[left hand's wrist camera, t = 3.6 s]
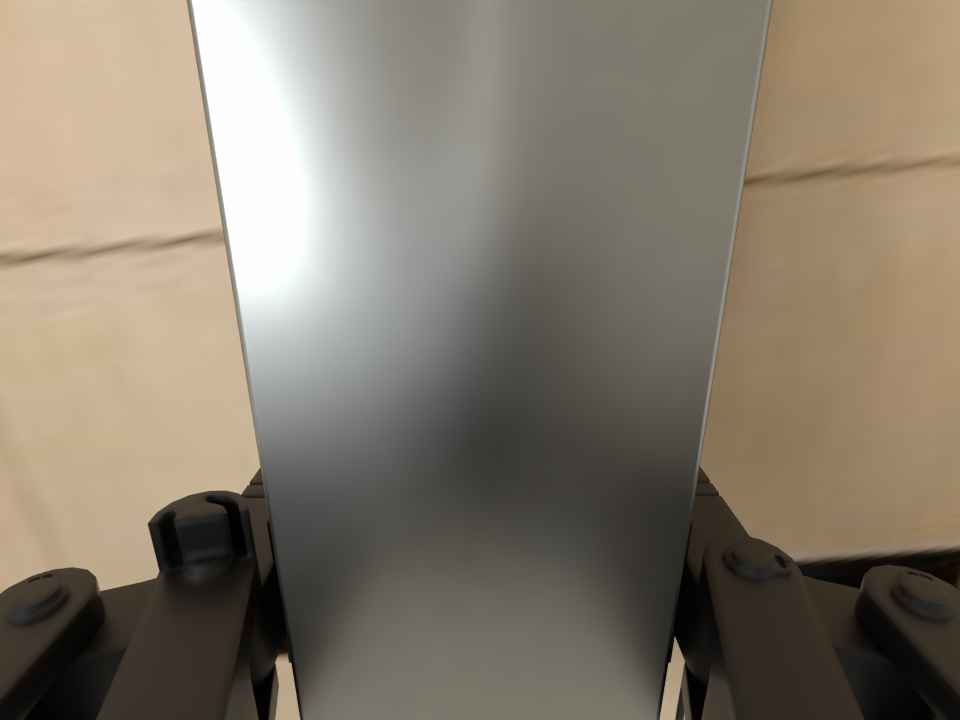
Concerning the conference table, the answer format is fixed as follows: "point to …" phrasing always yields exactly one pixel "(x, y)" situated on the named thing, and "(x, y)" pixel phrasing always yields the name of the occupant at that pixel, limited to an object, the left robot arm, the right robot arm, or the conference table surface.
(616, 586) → the bar
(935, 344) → the conference table surface
